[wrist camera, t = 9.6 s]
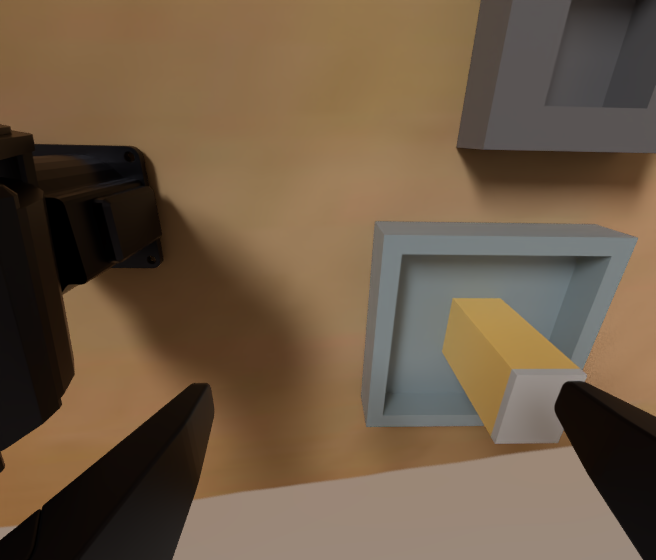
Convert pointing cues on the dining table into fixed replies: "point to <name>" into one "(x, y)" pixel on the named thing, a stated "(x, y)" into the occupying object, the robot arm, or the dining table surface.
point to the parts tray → (476, 282)
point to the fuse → (507, 370)
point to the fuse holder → (562, 77)
